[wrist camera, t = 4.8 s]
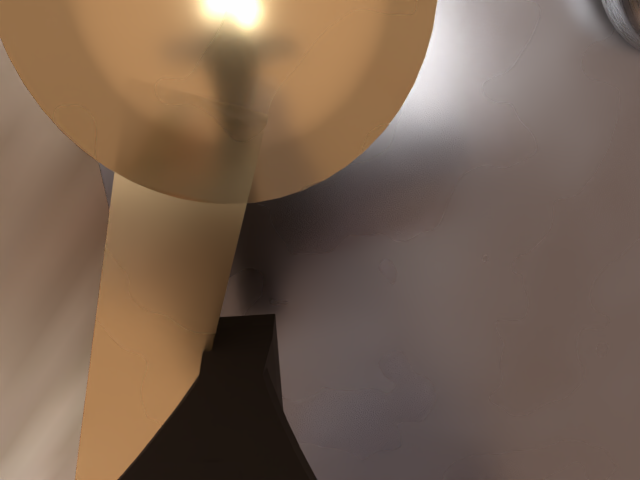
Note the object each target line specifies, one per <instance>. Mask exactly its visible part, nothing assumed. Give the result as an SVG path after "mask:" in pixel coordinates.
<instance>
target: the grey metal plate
mask: <svg viewBox="0 0 640 480" xmlns="http://www.w3.org/2000/svg"><path fill="white" fill-rule="evenodd" d="M99 166H100V171H101V175H102V179H103V184H104V188H105V193H106V197H107V201H108V206H109V210H110V203H111V195H112V188H113V180H114V171H112V170H110V169H108V168H106V167H105V166H104V165H102V164H101V163H100V162H99ZM261 314H275V316H276V328H277V340H278V352H279V364H280V376H281V388H282V400H283V411H284V414H285V416H286V418H287V421H288V423H289V425H290V427H291V429H292V431H293V433H294V435H295V437H296V440H297V442H298V444H299V446H300V448H301V450H302V452H303V454H304V456H305V458H306V459H307V461H308V463H309V465H310V467H311V469H312V471H313V472H314V474H315V476H316V478H317V480H640V0H437V7H436V13H435V19H434V25H433V31H432V35H431V38H430V42H429V45H428V49H427V52H426V56H425V59H424V62H423V64H422V66H421V69H420V71H419V74H418V76H417V78H416V81H415V83H414V85H413V87H412V89H411V91H410V93H409V94H408V96H407V98H406V100H405V101H404V103H403V105H402V107H401V109H400V110H399V111H398V113H397V114H396V116H395V117H394V118H393V120H392V121H391V122H390V124H389V125H388V126H387V128H386V129H385V131H384V132H383V133H382V134H381V135H380V136H379V137H378V138H377V139H376V140H375V141H374V142H373V143H372V144H371V145H370V146H369V148H368V149H367V150H366V151H364V152H363V153H362V154H361V155H360V156H358V157H357V158H356V159H355V160H353V161H352V162H351V163H350V164H349V165H347V166H346V167H345V168H343V169H341V170H340V171H338V172H337V173H335V174H333V175H332V176H330V177H329V178H327V179H326V180H324V181H321V182H319V183H317V184H315V185H313V186H311V187H309V188H307V189H305V190H302V191H299V192H296V193H293V194H290V195H287V196H284V197H281V198H277V199H271V200H266V201H261V202H256V203H247V205H246V209H245V213H244V218H243V222H242V226H241V230H240V234H239V238H238V242H237V247H236V251H235V255H234V259H233V263H232V267H231V271H230V276H229V280H228V284H227V288H226V292H225V296H224V300H223V305H222V309H221V313H220V317H228V316H245V315H261Z"/></svg>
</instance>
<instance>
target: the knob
mask: <svg viewBox="0 0 640 480" xmlns="http://www.w3.org/2000/svg"><path fill="white" fill-rule="evenodd" d="M436 7H437V0H0V38H1V40H2V42H3V45H4V47H5V50H6V52H7V54H8V56H9V58H10V60H11V62H12V64H13V65H14V67H15V69H16V71H17V73H18V74H19V76H20V78H21V80H22V81H23V83H24V85H25V86H26V88H27V89H28V90H29V92H30V93H31V95H32V96H33V97H34V99H35V100H36V102H37V103H38V104H39V106H40V107H41V109H42V110H43V111H44V112H45V113H46V114H47V115H48V116H49V118H50V119H51V120H52V121H53V122H54V123H55V124H56V125H57V127H58V128H59V129H60V130H61V131H62V132H63V133H64V134H65V135H66V136H67V137H69V138H70V139H71V140H72V141H73V142H74V143H75V144H76V145H77V146H79V147H80V148H81V149H82V150H83V151H84V152H86V153H87V154H88V155H90V156H91V157H93V158H94V159H95V160H97V161H98V162H100V163H101V164H102V165H104V166H105V167H106V168H108V169H110V170H112V171H114V180H113V188H112V195H111V203H110V211H109V219H108V226H107V234H106V242H105V250H104V258H103V265H102V273H101V281H100V289H99V296H98V304H97V312H96V320H95V327H94V335H93V343H92V351H91V359H90V366H89V374H88V382H87V390H86V397H85V405H84V413H83V421H82V429H81V436H80V444H79V452H78V460H77V467H76V475H75V480H117V479H118V478H119V477H120V476H121V475H122V474H123V473H124V472H125V470H126V469H127V468H128V467H129V466H130V465H131V463H132V462H133V461H134V460H135V459H136V458H137V456H138V455H139V454H140V453H141V452H142V450H143V449H144V448H145V446H146V445H147V444H148V443H149V441H150V440H151V439H152V438H153V436H154V435H155V434H156V433H157V431H158V430H159V429H160V428H161V426H162V425H163V424H164V422H165V421H166V420H167V419H168V417H169V416H170V415H171V414H172V412H173V411H174V410H175V408H176V407H177V406H178V404H179V403H180V401H181V400H182V399H183V397H184V396H185V394H186V393H187V391H188V390H189V389H190V387H191V386H192V384H193V383H194V381H195V380H196V379H197V377H198V376H199V373H200V366H201V359H202V353H203V351H210V350H212V346H213V342H214V338H215V334H216V329H217V325H218V321H219V317H220V313H221V309H222V305H223V300H224V296H225V292H226V288H227V284H228V280H229V276H230V271H231V267H232V263H233V259H234V255H235V251H236V247H237V242H238V238H239V234H240V230H241V226H242V222H243V218H244V213H245V209H246V205H247V203H256V202H261V201H266V200H271V199H277V198H281V197H284V196H287V195H290V194H293V193H296V192H299V191H302V190H305V189H307V188H309V187H311V186H313V185H315V184H317V183H319V182H321V181H324V180H326V179H327V178H329V177H330V176H332V175H333V174H335V173H337V172H338V171H340V170H341V169H343V168H345V167H346V166H347V165H349V164H350V163H351V162H352V161H353V160H355V159H356V158H357V157H358V156H360V155H361V154H362V153H363V152H364V151H366V150H367V149H368V148H369V146H370V145H371V144H372V143H373V142H374V141H375V140H376V139H377V138H378V137H379V136H380V135H381V134H382V133H383V132H384V131H385V129H386V128H387V126H388V125H389V124H390V122H391V121H392V120H393V118H394V117H395V116H396V114H397V113H398V111H399V110H400V109H401V107H402V105H403V103H404V101H405V100H406V98H407V96H408V94H409V93H410V91H411V89H412V87H413V85H414V83H415V81H416V78H417V76H418V74H419V71H420V69H421V66H422V64H423V62H424V59H425V56H426V52H427V49H428V45H429V42H430V38H431V35H432V31H433V25H434V19H435V13H436Z"/></svg>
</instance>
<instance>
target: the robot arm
mask: <svg viewBox="0 0 640 480" xmlns="http://www.w3.org/2000/svg"><path fill="white" fill-rule="evenodd" d="M117 480H317V478H316V476H315V474H314V472H313V471H312V469H311V467H310V465H309V463H308V461H307V459H306V458H305V456H304V454H303V452H302V450H301V448H300V446H299V444H298V442H297V440H296V437H295V435H294V433H293V431H292V429H291V427H290V425H289V423H288V421H287V418H286V416H285V414H284V411H283V400H282V388H281V376H280V364H279V352H278V340H277V328H276V316H275V314H261V315H245V316H228V317H219V321H218V325H217V329H216V334H215V338H214V342H213V346H212V350H210V351H203V353H202V359H201V366H200V373H199V376H198V377H197V379H196V380H195V381H194V383H193V384H192V386H191V387H190V389H189V390H188V391H187V393H186V394H185V396H184V397H183V399H182V400H181V401H180V403H179V404H178V406H177V407H176V408H175V410H174V411H173V412H172V414H171V415H170V416H169V417H168V419H167V420H166V421H165V422H164V424H163V425H162V426H161V428H160V429H159V430H158V431H157V433H156V434H155V435H154V436H153V438H152V439H151V440H150V441H149V443H148V444H147V445H146V446H145V448H144V449H143V450H142V452H141V453H140V454H139V455H138V456H137V458H136V459H135V460H134V461H133V462H132V463H131V465H130V466H129V467H128V468H127V469H126V470H125V472H124V473H123V474H122V475H121V476H120V477H119V478H118V479H117Z"/></svg>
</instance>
